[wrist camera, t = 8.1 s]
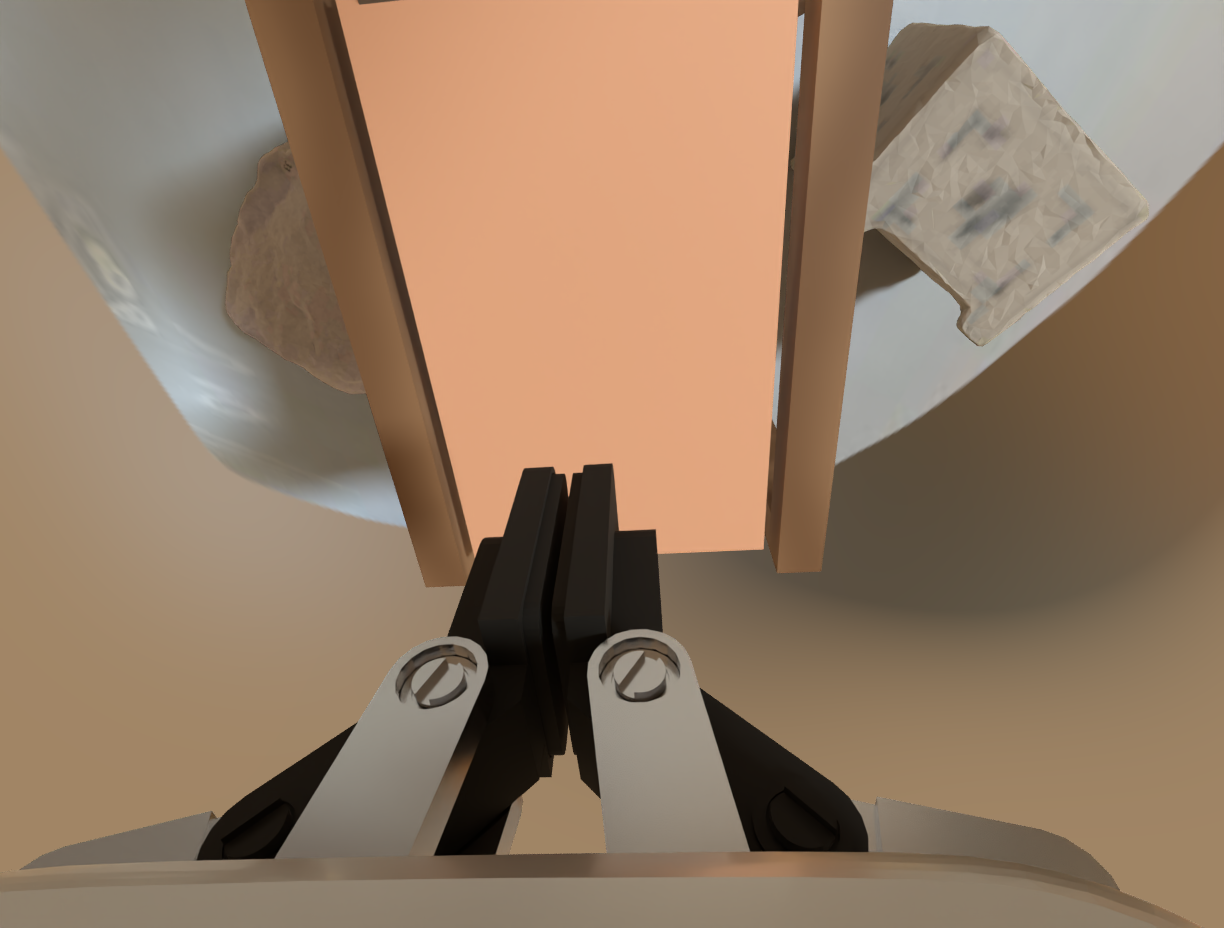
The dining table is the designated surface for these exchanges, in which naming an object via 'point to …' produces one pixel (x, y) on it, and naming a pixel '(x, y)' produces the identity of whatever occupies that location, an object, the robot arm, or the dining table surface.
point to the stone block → (287, 278)
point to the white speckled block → (988, 176)
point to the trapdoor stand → (383, 316)
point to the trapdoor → (591, 241)
